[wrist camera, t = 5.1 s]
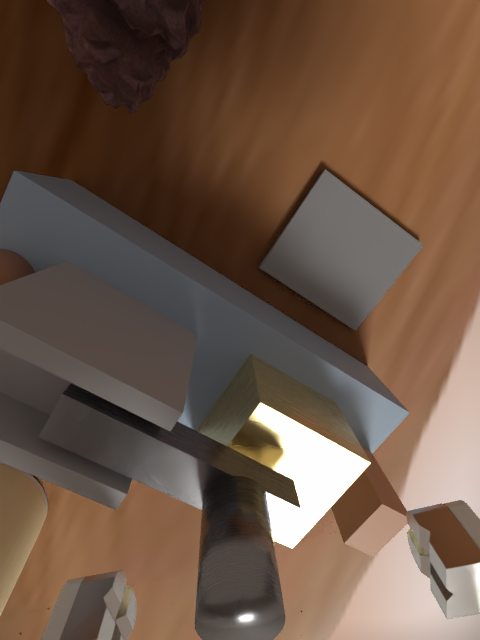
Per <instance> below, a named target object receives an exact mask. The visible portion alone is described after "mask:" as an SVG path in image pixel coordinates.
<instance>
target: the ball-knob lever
mask: <svg viewBox="0 0 480 640" xmlns="http://www.w3.org/2000/svg"><path fill="white" fill-rule="evenodd" d="M38 437H39V438H42V439H44V440H46V441H48V442H51V443H53V444H55V445H57V446H60V447H62V448H64V449H66V450H69V451H71V452H73V453H75V454H78V455H80V456H82V457H84V458H87V459H89V460H91V461H93V462H96V463H98V464H100V465H102V466H105V467H107V468H109V469H111V470H114V471H116V472H118V473H120V474H123V475H125V476H127V477H129V478H132V479H134V480H136V481H138V482H141V483H143V484H145V485H147V486H150V487H152V488H154V489H156V490H159V491H161V492H163V493H165V494H168V495H170V496H172V497H174V498H177V499H179V500H181V501H183V502H186V503H188V504H190V505H192V506H195V507H197V508H199V509H201V510H202V519H201V535H200V550H199V566H198V581H197V597H196V612H195V628H196V631H197V633H198V635H199V636H200V638H202V639H203V640H272V639H274V638H275V637H276V636H277V635H278V634H279V633H280V632H281V630H282V628H283V626H284V623H285V612H284V605H283V599H282V592H281V586H280V579H279V573H278V566H277V560H276V553H275V547H274V539H275V538H276V537H277V536H278V535H279V534H280V532H281V531H282V530H283V529H284V528H285V527H286V526H287V525H288V523H289V522H290V521H291V520H292V519H293V518H294V517H295V516H296V514H297V513H298V512H299V511H300V510H301V505H300V502H299V498H298V494H297V490H296V486H295V482H294V480H293V479H291V478H289V477H287V476H285V475H283V474H281V473H279V472H277V471H275V470H273V469H271V468H269V467H267V466H265V465H263V464H261V463H259V462H257V461H255V460H253V459H251V458H249V457H247V456H245V455H243V454H241V453H239V452H237V451H235V450H233V449H231V448H229V447H227V446H225V445H223V444H221V443H219V442H217V441H215V440H213V439H211V438H209V437H207V436H205V435H203V434H201V433H199V432H197V431H196V430H194V429H192V428H190V427H188V426H186V425H184V424H182V423H180V422H178V421H177V422H176V424H175V425H174V427H173V428H172V430H171V431H168V430H166V429H164V428H162V427H160V426H158V425H156V424H154V423H152V422H150V421H148V420H146V419H144V418H142V417H140V416H138V415H136V414H134V413H132V412H130V411H128V410H126V409H123V408H121V407H119V406H117V405H115V404H113V403H111V402H109V401H107V400H105V399H103V398H101V397H99V396H97V395H95V394H93V393H91V392H89V391H87V390H85V389H83V388H81V387H79V386H77V385H75V384H73V383H71V384H70V385H69V386H68V388H67V389H66V390H65V391H64V392H63V394H62V395H61V397H60V399H59V401H58V402H57V404H56V406H55V408H54V409H53V411H52V413H51V415H50V417H49V418H48V420H47V422H46V424H45V425H44V427H43V429H42V431H41V433H40V434H39V436H38Z"/></svg>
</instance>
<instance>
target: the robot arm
mask: <svg viewBox="0 0 480 640" xmlns="http://www.w3.org/2000/svg"><path fill="white" fill-rule="evenodd" d="M406 518H407V522H408V524H409V526H410V530H409V531H408V532H407V534H408V542H409V546H410V549H411V552H412V555H413V557H414V559H415V561H416V563H417V565H418V567H419V569H420V571H421V572H422V573H423V574H425V575H426V576H427V577H429V578H430V582H431V591H432V593H433V595H434V597H435V598H436V600H437V602H438V604H439V606H440V608H441V609H442V611H443V613H444V614H445V617H446V618H447V619H451V618H457V617H464V616H470V615H476V614H480V519H479V518H478V517H477V516H476V514H475V513H474V512H473V511H472V509H471V508H470V507H469V506H468V505H467V503H465V502H464V501H462V500H459V501H455V502H450V503H446V504H437V505H433V506H429V507H424V508H420V509H415V510H411V511H408V512H407V514H406ZM126 580H127V577H126V575H125V573H124V571H123V570H120V571H115V572H109V573H104V574H98V575H93V576H86V577H81V578H76V579H71V580H68V581H67V582H66V584H65V585H64V586H63V588H62V590H61V593H60V595H59V598H58V600H57V602H56V605H55V607H54V609H53V612H52V614H51V617H50V619H49V621H48V624H47V626H46V629H45V631H44V633H43V636H42V638H41V640H127V638H128V637H129V635H130V634H131V632H132V631H133V629H134V623H135V618H136V599H135V594H134V592H133V590H132V588H130V587H128V586H127V585H125V584H126Z"/></svg>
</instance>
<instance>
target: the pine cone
mask: <svg viewBox="0 0 480 640" xmlns="http://www.w3.org/2000/svg"><path fill="white" fill-rule="evenodd" d="M46 1H47V2H48V3H50V4H51V5H52V6H53V7H54V8H55V9H56V10H57V11H58V13H59V14H60V15H61V17H62V20H63V25H64V32H65V39H66V43H67V48H68V49H69V50H70V51H71V52H73V56H72V57H73V59H74V62H75V64H76V66H77V67H78V68H80V69H81V70H83V71H84V72H86V73H87V77H88V81H89V82H90V83H91V84H92V85H93V87H94V88H95V89H96V91H98V92H100V93H101V96H102V99H103V100H104V102H105V104H106V105H112V106H113V107H115V108H117V107H119V106H120V105H122V106H123V107H124V108H126V109H127V110H128V111H129V113H130V114H132V113H135V112H138V108H139V104H140V103H141V102H144V101H147V100H149V99H150V98H151V97H152V95H153V93H154V89H155V84H156V81H163V80H164V79H165V77H166V74H167V72H168V70H169V68H170V66H169V65H170V61H172V60H175V59H178V58H181V57H182V56H183V55H184V54H185V53H186V51H187V46H188V42H189V39H191V38H192V37H194V36H195V35H196V34H197V33H198V32H199V28H200V23H201V12H200V11H201V9H202V6H203V3H204V0H46Z"/></svg>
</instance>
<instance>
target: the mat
mask: <svg viewBox="0 0 480 640" xmlns="http://www.w3.org/2000/svg"><path fill="white" fill-rule="evenodd" d="M423 246H424V245H423V244H421V243H420V242H419V241H418V240H416V239H415V238H414V237H412V236H411V235H410V234H409V233H407V232H406V231H405V230H403V229H402V228H401V227H399V226H398V225H397V224H396V223H394V222H393V221H392V220H390V219H389V218H388V217H387V216H385V215H384V214H383V213H381V212H380V211H379V210H377V209H376V208H375V207H374V206H372V205H371V204H370V203H368V202H367V201H366V200H364V199H363V198H362V197H361V196H359V195H358V194H357V193H355V192H354V191H353V190H352V189H350V188H349V187H348V186H346V185H345V184H344V183H342V182H341V181H340V180H339V179H337V178H336V177H335V176H333V175H332V174H331V173H330V172H328V171H327V170H326V169H325V170H323V171H322V172H321V174H320V175H319V177H318V178H317V180H316V181H315V183H314V184H313V186H312V187H311V189H310V190H309V192H308V193H307V195H306V196H305V198H304V199H303V201H302V202H301V204H300V205H299V207H298V208H297V210H296V211H295V213H294V214H293V216H292V217H291V219H290V220H289V222H288V223H287V225H286V226H285V228H284V229H283V231H282V232H281V234H280V235H279V237H278V238H277V240H276V241H275V243H274V244H273V246H272V247H271V249H270V250H269V252H268V253H267V255H266V256H265V258H264V259H263V261H262V262H261V264H260V265H259V268H260V269H262V270H263V271H265V272H266V273H268V274H269V275H271V276H272V277H274V278H275V279H277V280H278V281H280V282H282V283H283V284H285V285H286V286H288V287H289V288H291V289H292V290H294V291H295V292H297V293H298V294H300V295H301V296H303V297H304V298H306V299H308V300H309V301H311V302H312V303H314V304H315V305H317V306H318V307H320V308H321V309H323V310H324V311H326V312H327V313H329V314H330V315H332V316H333V317H335V318H337V319H338V320H340V321H341V322H343V323H344V324H346V325H347V326H349V327H350V328H352V329H353V330H355V331H356V330H357V328H358V327H359V326H360V325H361V323H362V322H363V321H364V320H365V318H366V317H367V316H368V315H369V313H370V312H371V311H372V310H373V308H374V307H375V306H376V305H377V303H378V302H379V301H380V300H381V298H382V297H383V296H384V295H385V293H386V292H387V291H388V290H389V288H390V287H391V286H392V285H393V283H394V282H395V281H396V279H397V278H398V277H399V276H400V274H401V273H402V272H403V271H404V269H405V268H406V267H407V266H408V264H409V263H410V262H411V261H412V259H413V258H414V257H415V256H416V254H417V253H418V252H419V251H420V249H421V248H422V247H423Z"/></svg>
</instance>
